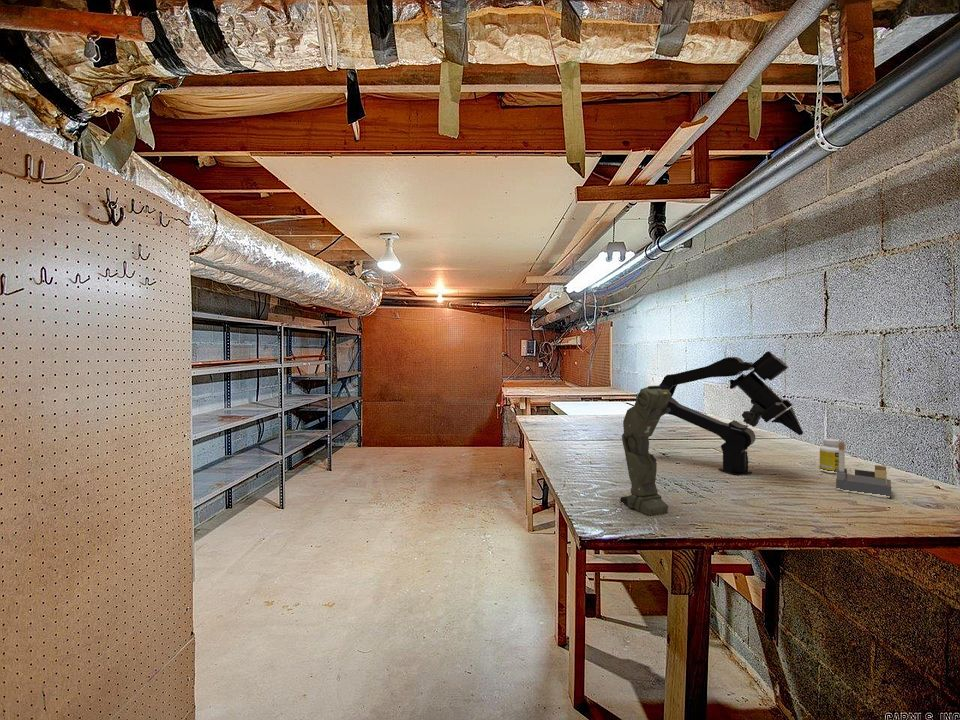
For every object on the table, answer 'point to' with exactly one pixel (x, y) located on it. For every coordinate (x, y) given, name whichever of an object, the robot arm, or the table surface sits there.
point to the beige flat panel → (842, 457)
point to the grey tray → (865, 481)
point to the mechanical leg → (644, 449)
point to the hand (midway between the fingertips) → (801, 434)
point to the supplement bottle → (829, 455)
